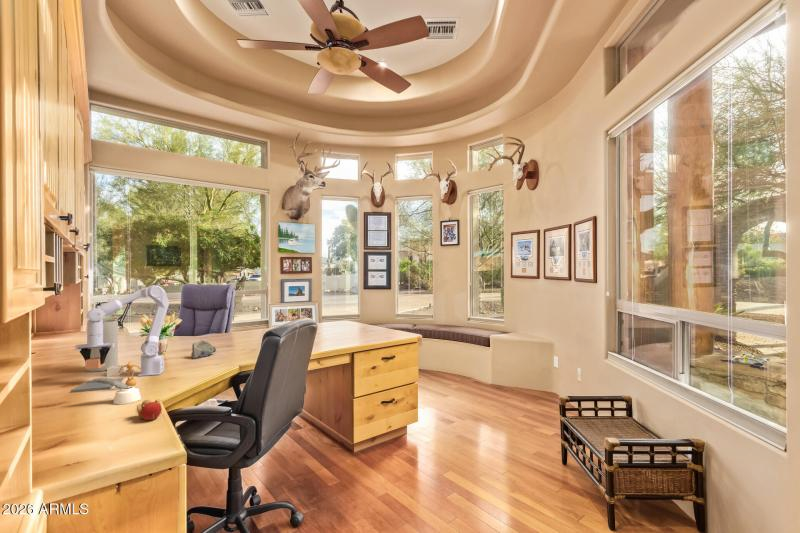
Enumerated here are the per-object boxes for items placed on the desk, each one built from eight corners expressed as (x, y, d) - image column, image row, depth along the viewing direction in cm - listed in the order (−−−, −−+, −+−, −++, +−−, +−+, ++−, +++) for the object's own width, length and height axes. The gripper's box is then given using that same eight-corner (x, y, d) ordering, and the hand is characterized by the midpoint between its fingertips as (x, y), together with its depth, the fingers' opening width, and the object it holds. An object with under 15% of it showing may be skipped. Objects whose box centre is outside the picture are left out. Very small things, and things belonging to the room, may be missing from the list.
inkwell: (138, 402, 145) (138, 377, 145) (80, 409, 138) (80, 382, 138) (143, 395, 154) (144, 371, 154) (89, 401, 146) (89, 376, 146)
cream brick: (123, 372, 189) (123, 364, 189) (119, 375, 183) (119, 367, 183) (111, 373, 187) (111, 365, 187) (106, 376, 182) (106, 368, 182)
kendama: (131, 414, 137) (136, 422, 124) (134, 396, 139) (140, 402, 125) (155, 413, 142) (163, 420, 128) (159, 395, 143) (166, 401, 130)
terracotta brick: (104, 365, 176) (104, 356, 176) (98, 368, 170) (98, 359, 170) (92, 366, 174) (92, 357, 174) (85, 369, 169) (85, 360, 169)
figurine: (143, 385, 168) (143, 358, 168) (140, 388, 162) (140, 361, 162) (120, 387, 164) (120, 360, 164) (117, 391, 159) (117, 363, 159)
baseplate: (123, 380, 175) (123, 378, 175) (109, 389, 162) (109, 386, 162) (87, 382, 171) (87, 380, 171) (70, 392, 158) (70, 390, 158)
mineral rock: (216, 354, 230) (216, 337, 230) (215, 357, 220) (215, 340, 220) (192, 355, 225) (192, 339, 225) (190, 359, 215) (190, 342, 215)
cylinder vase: (123, 366, 200) (123, 320, 200) (99, 372, 188) (100, 323, 188) (105, 365, 203) (105, 319, 203) (80, 371, 191) (80, 322, 191)
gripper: (117, 332, 178) (117, 360, 178) (81, 334, 174) (81, 363, 174) (110, 334, 171) (110, 364, 171) (72, 336, 167) (72, 366, 167)
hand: (95, 364), depth 172 cm, fingers closed on terracotta brick, 5 cm apart
